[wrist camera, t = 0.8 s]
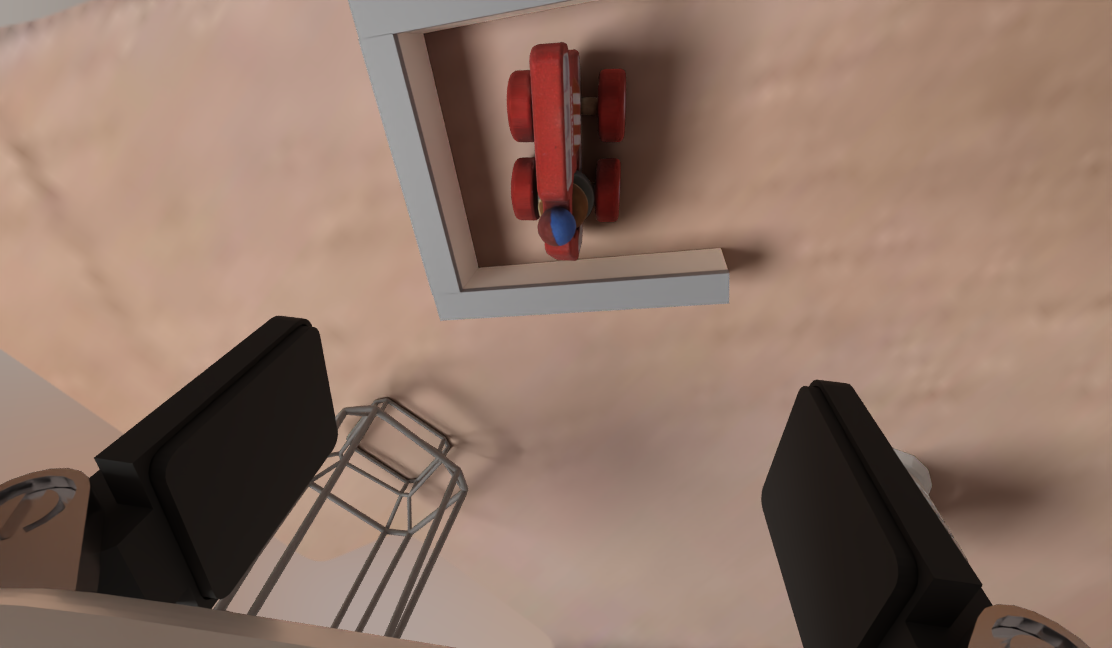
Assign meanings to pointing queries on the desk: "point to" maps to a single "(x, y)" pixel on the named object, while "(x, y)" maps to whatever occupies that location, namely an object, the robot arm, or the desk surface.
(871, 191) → the desk surface
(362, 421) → the geometric lantern
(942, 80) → the desk surface
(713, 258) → the white u-shaped wall
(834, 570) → the robot arm
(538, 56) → the toy fire truck
